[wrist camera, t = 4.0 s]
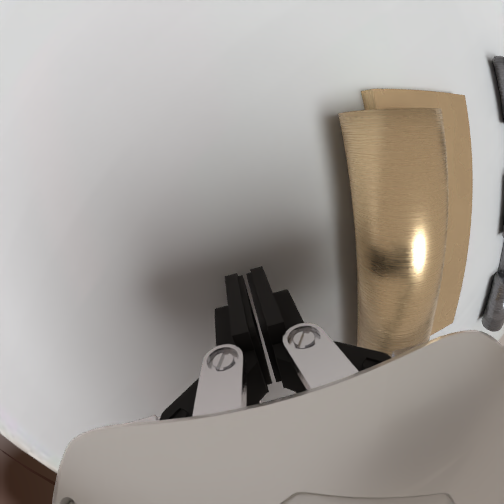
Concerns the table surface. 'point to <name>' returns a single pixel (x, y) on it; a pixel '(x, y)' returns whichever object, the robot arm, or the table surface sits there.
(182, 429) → the robot arm
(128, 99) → the table surface
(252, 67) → the table surface
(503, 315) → the steel hinge leaf
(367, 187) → the bronze hinge leaf
